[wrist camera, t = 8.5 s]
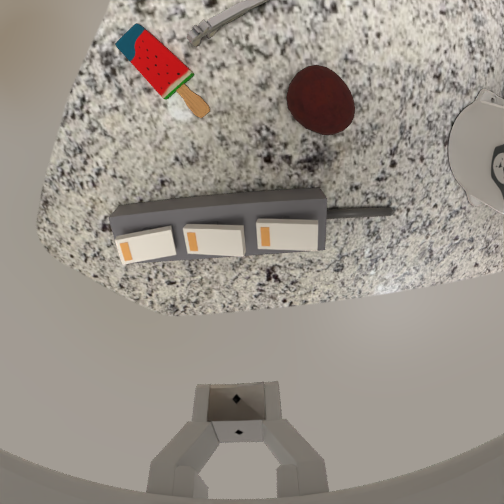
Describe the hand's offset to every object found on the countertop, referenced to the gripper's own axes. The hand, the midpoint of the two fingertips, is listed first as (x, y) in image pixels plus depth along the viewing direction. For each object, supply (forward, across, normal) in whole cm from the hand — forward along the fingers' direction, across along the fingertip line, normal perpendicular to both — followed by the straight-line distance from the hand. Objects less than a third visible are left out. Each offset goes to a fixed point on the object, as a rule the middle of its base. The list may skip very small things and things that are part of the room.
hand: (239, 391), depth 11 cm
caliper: (+32, -4, -21) cm, 38 cm away
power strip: (+31, -1, +7) cm, 32 cm away
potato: (+31, -9, -8) cm, 34 cm away
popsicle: (+32, +8, -13) cm, 35 cm away
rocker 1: (+25, +12, +7) cm, 29 cm away
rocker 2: (+25, +4, +7) cm, 27 cm away
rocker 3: (+25, -5, +7) cm, 27 cm away
